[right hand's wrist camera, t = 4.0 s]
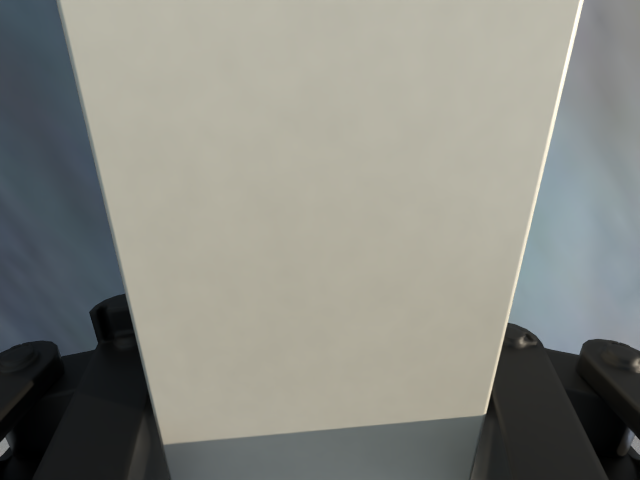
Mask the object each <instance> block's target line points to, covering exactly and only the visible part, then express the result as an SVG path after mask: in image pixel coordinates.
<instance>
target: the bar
mask: <svg viewBox="0 0 640 480" xmlns="http://www.w3.org/2000/svg"><path fill="white" fill-rule="evenodd" d="M583 1H584V0H56V2H57V6H58V11H59V15H60V19H61V23H62V27H63V32H64V36H65V40H66V44H67V49H68V53H69V57H70V61H71V66H72V70H73V74H74V78H75V82H76V87H77V91H78V95H79V99H80V104H81V108H82V112H83V116H84V121H85V125H86V129H87V133H88V137H89V142H90V146H91V150H92V154H93V159H94V163H95V167H96V171H97V176H98V180H99V184H100V188H101V192H102V197H103V201H104V205H105V209H106V214H107V218H108V222H109V226H110V231H111V235H112V239H113V243H114V248H115V252H116V256H117V260H118V264H119V269H120V273H121V277H122V281H123V286H124V290H125V294H126V298H127V303H128V307H129V311H130V315H131V319H132V324H133V328H134V332H135V336H136V341H137V345H138V349H139V353H140V358H141V362H142V366H143V370H144V374H145V379H146V383H147V387H148V391H149V396H150V400H151V404H152V408H153V413H154V417H155V421H156V425H157V429H158V434H159V438H160V442H161V446H162V451H163V455H164V459H165V463H166V468H167V472H168V476H169V480H471V475H472V471H473V467H474V463H475V458H476V454H477V450H478V446H479V441H480V437H481V433H482V429H483V424H484V420H485V416H486V412H487V407H488V403H489V399H490V395H491V391H492V386H493V382H494V378H495V374H496V369H497V365H498V361H499V357H500V352H501V348H502V344H503V340H504V335H505V331H506V327H507V323H508V318H509V314H510V310H511V306H512V302H513V297H514V293H515V289H516V285H517V280H518V276H519V272H520V268H521V263H522V259H523V255H524V251H525V246H526V242H527V238H528V234H529V229H530V225H531V221H532V217H533V212H534V208H535V204H536V200H537V196H538V191H539V187H540V183H541V179H542V174H543V170H544V166H545V162H546V157H547V153H548V149H549V145H550V140H551V136H552V132H553V128H554V123H555V119H556V115H557V111H558V107H559V102H560V98H561V94H562V90H563V85H564V81H565V77H566V73H567V68H568V64H569V60H570V56H571V51H572V47H573V43H574V39H575V34H576V30H577V26H578V22H579V18H580V13H581V9H582V5H583Z"/></svg>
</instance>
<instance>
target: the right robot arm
mask: <svg viewBox="0 0 640 480" xmlns="http://www.w3.org/2000/svg"><path fill="white" fill-rule="evenodd" d="M89 313H90V316H91V320H92V323H93V327H94V330H95V334H96V337H97V341H98V345H97V347H96V349H95V350H92V351H87V352H82V353H77V354H72V355H67V356H62V357H61V355H60V352H59V349H58V346H57V345H56V344H54V343H53V342H50V341H35V342H27V343H23V344H19V345H16V346H13V347H11V348H10V349H8V350H6V351H4V352H1V353H0V442H1V441H2V440H3V439H4V438H5V437H6V440H7V442H8V444H9V446H10V447H9V448H8V449H7V451H6V452H5V453H4V454H3V455H2V456H1V457H0V480H169V476H168V472H167V468H166V463H165V459H164V455H163V451H162V446H161V442H160V438H159V434H158V429H157V425H156V421H155V417H154V413H153V408H152V404H151V400H150V396H149V391H148V387H147V383H146V379H145V374H144V370H143V366H142V362H141V358H140V353H139V349H138V345H137V341H136V336H135V332H134V328H133V324H132V319H131V315H130V311H129V307H128V303H127V298H126V294H122V295H117V296H115V297H112V298H109V299H106V300H104V301H103V302H101V303H99V304H98V305H96V306H95V307H94V308H93V309H92V310H91V311H90V312H89ZM635 435H636V436H637V437H638V438H639V440H640V351H638V350H636V349H634V348H632V347H630V346H628V345H626V344H623V343H618V342H616V341H612V340H602V339H594V340H588V341H587V342H585V343H584V344H583V346H582V349H581V351H580V354H579V355H576V354H571V353H566V352H561V351H555V350H551V349H547V348H544V346H543V344H542V343H541V341H540V340H539V339H538V338H537V336H536V335H534V334H533V333H531V332H530V331H528V330H527V329H525V328H522V327H520V326H518V325H515V324H511V323H507V327H506V331H505V335H504V340H503V344H502V348H501V352H500V357H499V361H498V365H497V369H496V374H495V378H494V382H493V386H492V391H491V395H490V399H489V403H488V407H487V412H486V416H485V420H484V424H483V429H482V433H481V437H480V441H479V446H478V450H477V454H476V458H475V463H474V467H473V471H472V475H471V480H640V455H639V454H638V453H637V452H636V451H635V450H634V449H633V448H632V446H631V443H632V441H633V439H634V437H635Z"/></svg>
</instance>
